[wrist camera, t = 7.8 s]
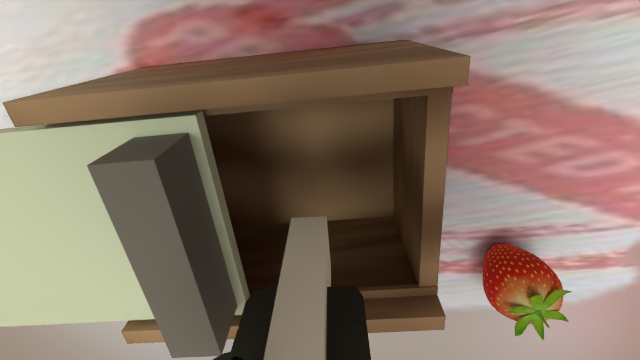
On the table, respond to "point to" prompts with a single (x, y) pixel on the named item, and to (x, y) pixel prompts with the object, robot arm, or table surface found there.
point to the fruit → (522, 287)
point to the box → (309, 159)
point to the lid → (119, 229)
